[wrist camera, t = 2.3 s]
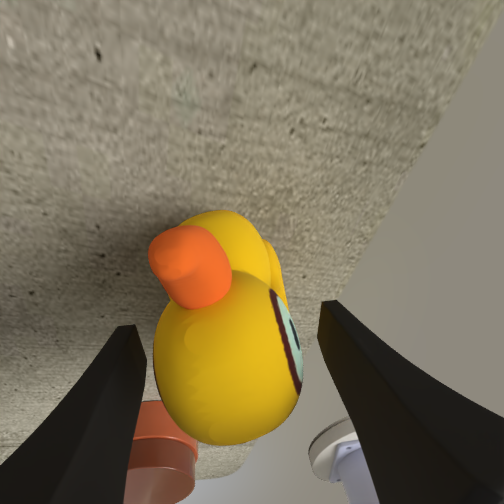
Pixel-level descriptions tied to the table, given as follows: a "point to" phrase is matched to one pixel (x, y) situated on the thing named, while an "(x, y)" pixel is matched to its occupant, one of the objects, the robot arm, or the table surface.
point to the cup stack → (159, 459)
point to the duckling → (223, 331)
